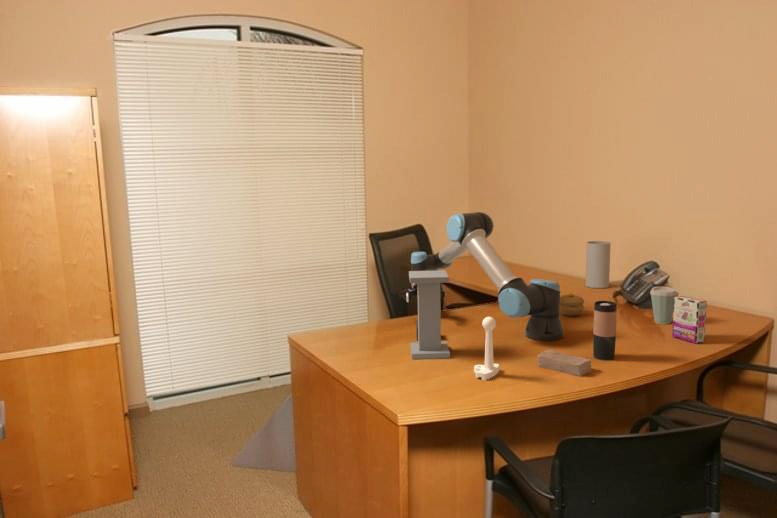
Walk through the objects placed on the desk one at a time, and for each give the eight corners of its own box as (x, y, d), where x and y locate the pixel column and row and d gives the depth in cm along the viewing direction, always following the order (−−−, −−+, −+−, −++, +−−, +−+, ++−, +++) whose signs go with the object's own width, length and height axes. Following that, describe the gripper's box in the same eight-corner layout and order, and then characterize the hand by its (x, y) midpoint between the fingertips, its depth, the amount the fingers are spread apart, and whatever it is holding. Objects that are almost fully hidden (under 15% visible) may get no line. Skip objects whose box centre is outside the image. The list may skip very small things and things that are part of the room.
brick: (592, 371, 199) (592, 357, 199) (580, 377, 194) (580, 364, 193) (548, 361, 211) (548, 348, 210) (536, 367, 205) (536, 354, 204)
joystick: (488, 381, 192) (488, 321, 189) (467, 376, 196) (466, 318, 193) (501, 370, 201) (502, 314, 198) (481, 367, 205) (481, 311, 202)
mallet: (414, 325, 260) (414, 312, 259) (432, 325, 260) (432, 312, 259) (417, 341, 238) (416, 326, 237) (436, 340, 238) (436, 326, 237)
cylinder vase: (589, 283, 340) (590, 240, 336) (611, 285, 332) (613, 241, 328) (582, 287, 330) (583, 243, 326) (605, 289, 322) (606, 244, 318)
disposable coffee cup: (678, 326, 249) (680, 291, 247) (651, 325, 251) (653, 290, 249) (672, 319, 260) (673, 286, 257) (645, 318, 262) (647, 285, 259)
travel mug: (614, 354, 215) (616, 301, 212) (615, 361, 208) (617, 306, 204) (592, 353, 217) (594, 300, 214) (592, 359, 210) (594, 305, 207)
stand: (410, 346, 231) (408, 271, 226) (446, 345, 231) (445, 270, 226) (411, 359, 215) (410, 278, 211) (450, 358, 215) (449, 277, 211)
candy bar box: (705, 342, 226) (707, 300, 224) (695, 344, 224) (698, 302, 222) (680, 335, 236) (682, 295, 234) (671, 336, 234) (673, 296, 232)
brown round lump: (580, 311, 277) (581, 291, 275) (586, 318, 265) (587, 296, 264) (555, 311, 278) (555, 291, 276) (560, 318, 267) (560, 296, 265)
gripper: (447, 295, 276) (452, 306, 255) (393, 297, 276) (394, 307, 255) (446, 280, 275) (452, 289, 254) (393, 281, 275) (394, 291, 254)
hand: (423, 298), depth 255 cm, fingers open, 13 cm apart
